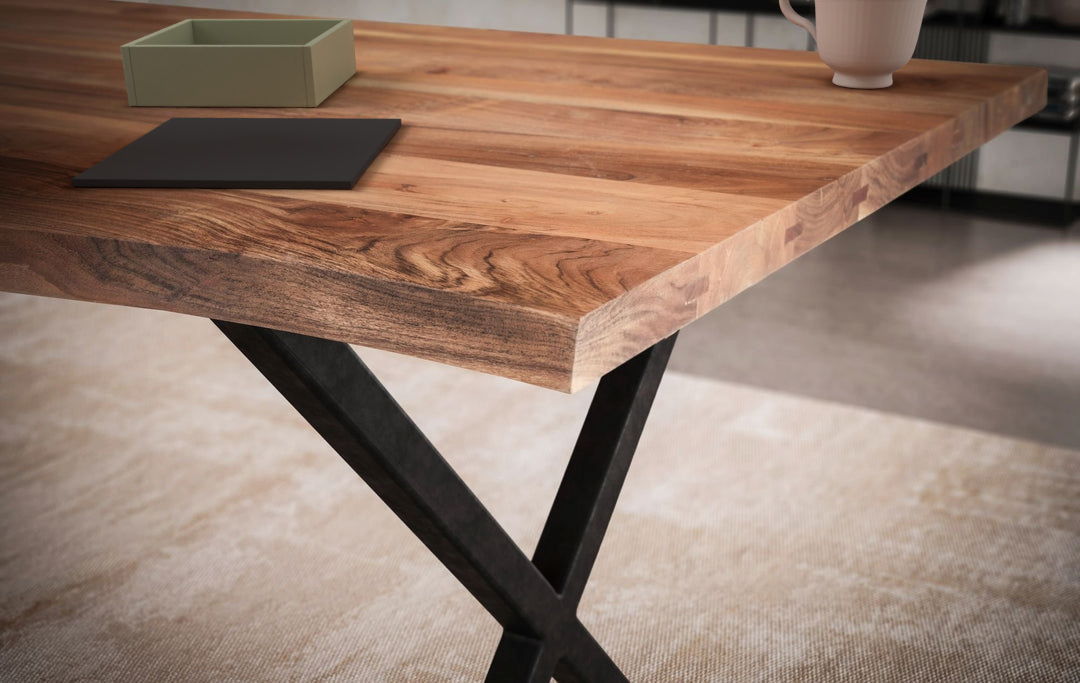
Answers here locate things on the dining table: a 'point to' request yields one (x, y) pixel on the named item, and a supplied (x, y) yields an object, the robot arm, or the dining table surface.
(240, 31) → the crate
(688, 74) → the dining table surface
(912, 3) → the teacup
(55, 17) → the dining table surface
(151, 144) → the mat
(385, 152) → the dining table surface
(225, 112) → the dining table surface
